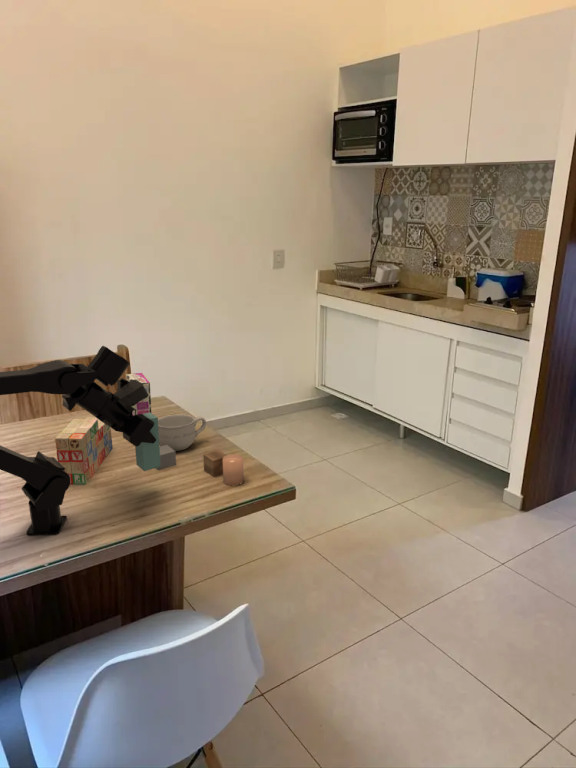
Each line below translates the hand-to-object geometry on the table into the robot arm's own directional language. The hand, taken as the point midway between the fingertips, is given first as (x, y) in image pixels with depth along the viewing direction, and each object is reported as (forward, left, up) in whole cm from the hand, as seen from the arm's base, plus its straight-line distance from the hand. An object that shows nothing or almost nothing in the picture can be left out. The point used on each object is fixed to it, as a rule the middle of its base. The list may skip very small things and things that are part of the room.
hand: (150, 438), depth 131 cm
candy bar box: (+37, +9, -14) cm, 40 cm away
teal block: (-1, +1, -7) cm, 7 cm away
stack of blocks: (+15, +19, -14) cm, 28 cm away
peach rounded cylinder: (+4, -18, -14) cm, 23 cm away
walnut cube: (+10, -14, -14) cm, 22 cm away
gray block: (+15, 0, -14) cm, 20 cm away
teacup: (+26, -4, -14) cm, 30 cm away
